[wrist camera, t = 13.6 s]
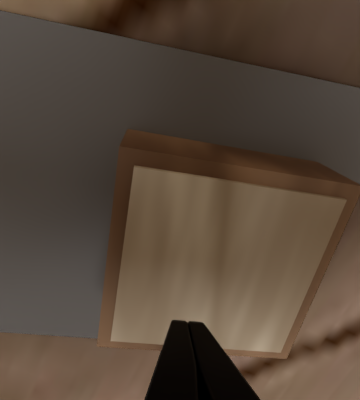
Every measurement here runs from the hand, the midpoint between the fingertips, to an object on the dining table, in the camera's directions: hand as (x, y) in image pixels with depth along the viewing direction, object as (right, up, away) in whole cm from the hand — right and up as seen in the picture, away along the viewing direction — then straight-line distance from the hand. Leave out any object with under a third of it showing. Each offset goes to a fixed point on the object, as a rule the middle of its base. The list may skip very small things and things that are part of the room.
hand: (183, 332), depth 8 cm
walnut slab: (-3, +2, +4) cm, 5 cm away
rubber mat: (-1, +3, +6) cm, 6 cm away
